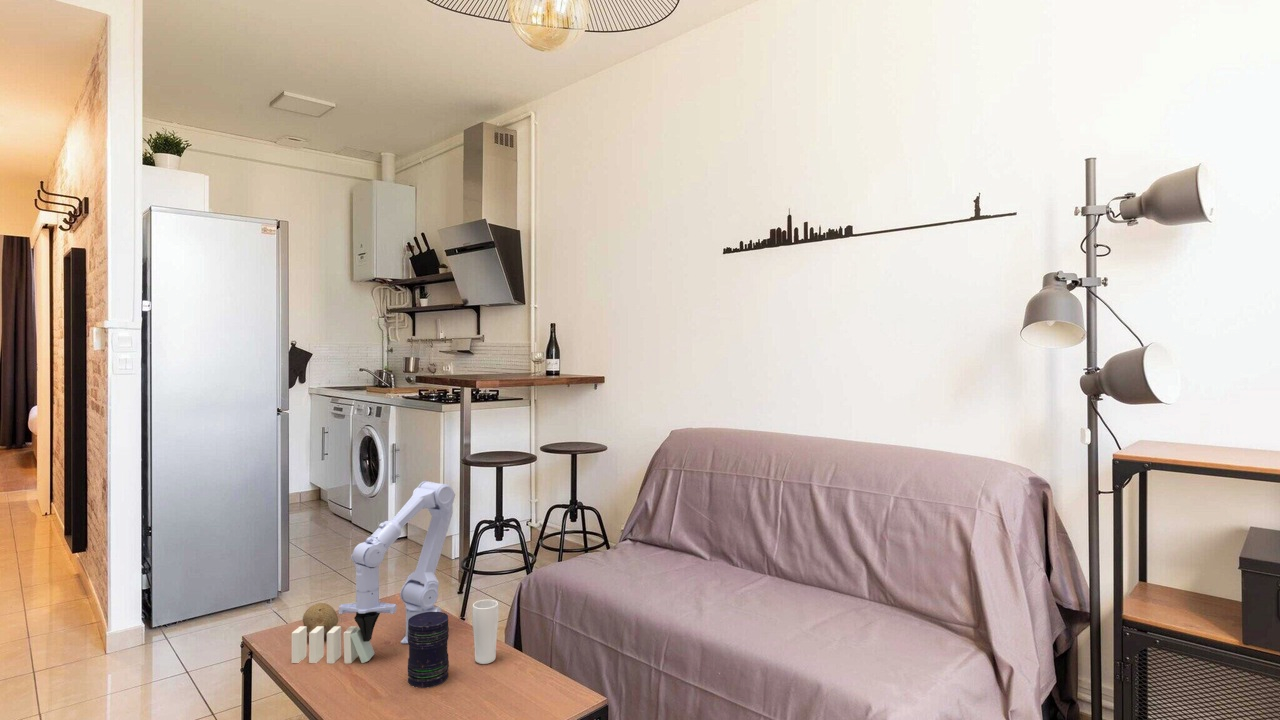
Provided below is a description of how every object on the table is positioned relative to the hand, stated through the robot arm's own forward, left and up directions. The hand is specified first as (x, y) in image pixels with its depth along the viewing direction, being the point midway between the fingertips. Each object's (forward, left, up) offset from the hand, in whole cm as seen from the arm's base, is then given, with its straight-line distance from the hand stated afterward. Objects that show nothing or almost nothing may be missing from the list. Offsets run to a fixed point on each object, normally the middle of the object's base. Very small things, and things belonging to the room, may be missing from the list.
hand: (367, 639), depth 178 cm
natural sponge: (+19, -14, -5) cm, 24 cm away
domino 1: (+18, 0, -5) cm, 19 cm away
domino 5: (0, 0, -5) cm, 5 cm away
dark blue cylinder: (-19, +10, -6) cm, 23 cm away
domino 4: (+4, 0, -5) cm, 7 cm away
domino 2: (+13, 0, -5) cm, 15 cm away
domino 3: (+9, 0, -5) cm, 10 cm away
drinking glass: (-31, 0, -5) cm, 32 cm away
